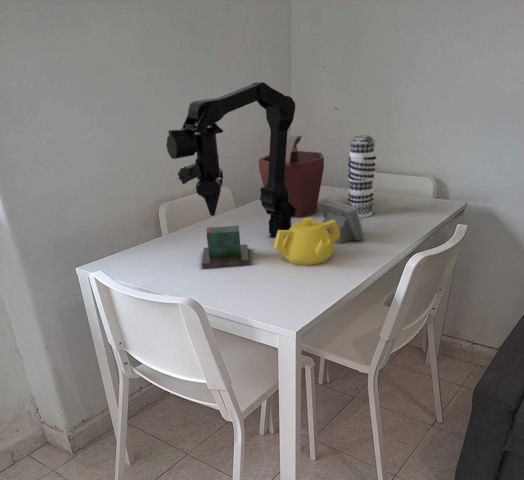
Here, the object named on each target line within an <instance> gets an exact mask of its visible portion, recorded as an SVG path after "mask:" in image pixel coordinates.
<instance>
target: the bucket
mask: <svg viewBox="0 0 524 480" xmlns="http://www.w3.org/2000/svg"><path fill="white" fill-rule="evenodd" d="M302 138H303V136H302V135H291V136H289V137H287V147H286V162H285V177H284V183H285V186H286V189H287V191H288V200H289V203H290V204H291V205H292V206H293V207H294V208H295V209H296V212H295V216H293V217H292V218H302V217H303V218H304V217H305V216H309V215H313V214H316V213H317V208H318V203H319V196H320V193H321V186H322V180H323V175H324V170H325V157H324V155H323V153H322V152H319V151H318V152H317V151H304V150H298V144H299V143H300V142H301V140H302ZM258 170H259V173H260V178H261V181H262V185H263V186H262V187H265V186H266V184H267V182H268V172H269V154H268V155H265V156H262V157H260V158H259V159H258Z"/></svg>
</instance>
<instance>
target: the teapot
mask: <svg viewBox="0 0 524 480" xmlns="http://www.w3.org/2000/svg"><path fill="white" fill-rule="evenodd" d="M329 227H330V230H331V234H330V235H329V233H328V231H327V230H326V229H327V228H329ZM284 235H285V237H284ZM339 237H340V232H339V229H338V226H337V223H336V221H335V220H333V219H332V220H330V221H327V222H324V223H322V222H320V221H316V220H313V218H312V217H303V218H301V221H297V222H294V223H292V224H291V228H290V229H289V230H278V231H277V235H276V237H275V240H274V242H273V248H274V249H275V250H277V251H278V252H280V253H281V254H282V255H283V257H284V258H285V259H287V261H288V262H290V263H291V264H294V265H299V266H313V265H318V264H322V263H325V262H327V260H328V259H330V257H332V255H333V253H334V244H335V243H336V242H337V241H336V240H337V239H338V238H339Z"/></svg>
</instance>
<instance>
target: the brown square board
mask: <svg viewBox="0 0 524 480" xmlns="http://www.w3.org/2000/svg"><path fill="white" fill-rule="evenodd" d="M240 246H241V256H228V257H216V258H209V250H208V246H207V247H203V252H202V260H201V268H202V269H214V268H215V269H216V268H228V267H229V268H230V267H241V266H250V261H249V259H250V258H249V249H248V244H246V243H245V244H240Z"/></svg>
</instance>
